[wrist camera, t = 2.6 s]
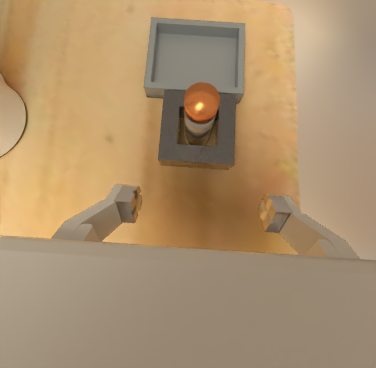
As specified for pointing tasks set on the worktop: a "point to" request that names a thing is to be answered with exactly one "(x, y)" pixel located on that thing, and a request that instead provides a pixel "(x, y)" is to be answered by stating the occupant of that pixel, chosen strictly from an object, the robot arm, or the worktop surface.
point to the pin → (200, 112)
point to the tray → (195, 56)
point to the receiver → (193, 154)
